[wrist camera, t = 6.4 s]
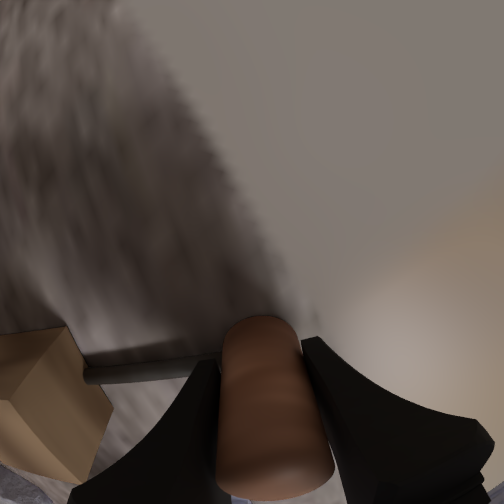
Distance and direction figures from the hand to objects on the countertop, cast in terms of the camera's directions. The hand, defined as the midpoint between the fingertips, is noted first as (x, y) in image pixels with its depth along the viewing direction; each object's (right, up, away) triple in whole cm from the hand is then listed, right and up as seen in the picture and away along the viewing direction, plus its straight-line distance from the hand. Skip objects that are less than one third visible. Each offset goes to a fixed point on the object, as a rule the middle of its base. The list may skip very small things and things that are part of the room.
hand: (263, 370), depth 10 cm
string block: (-6, -1, +2) cm, 6 cm away
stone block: (-27, -23, +8) cm, 36 cm away
